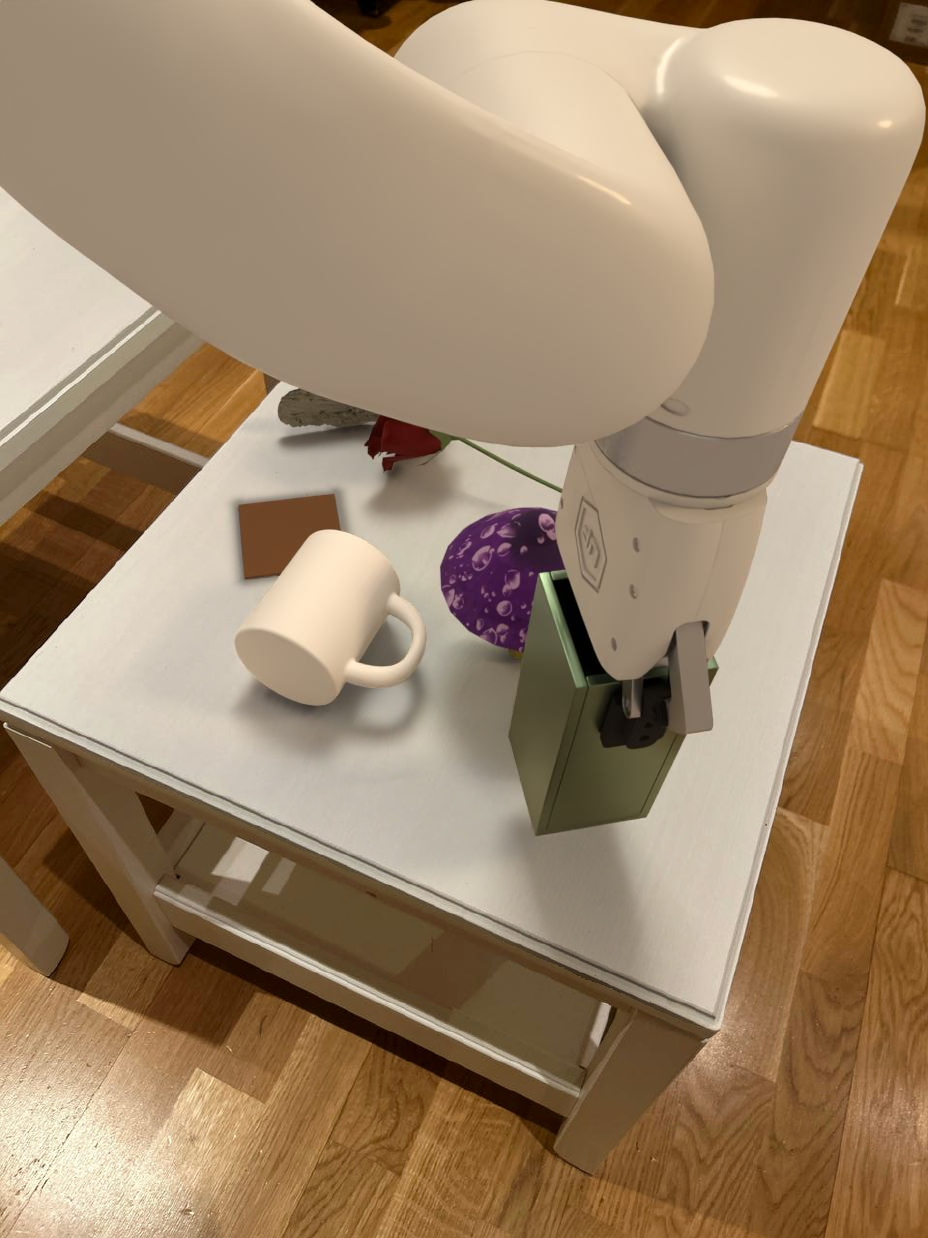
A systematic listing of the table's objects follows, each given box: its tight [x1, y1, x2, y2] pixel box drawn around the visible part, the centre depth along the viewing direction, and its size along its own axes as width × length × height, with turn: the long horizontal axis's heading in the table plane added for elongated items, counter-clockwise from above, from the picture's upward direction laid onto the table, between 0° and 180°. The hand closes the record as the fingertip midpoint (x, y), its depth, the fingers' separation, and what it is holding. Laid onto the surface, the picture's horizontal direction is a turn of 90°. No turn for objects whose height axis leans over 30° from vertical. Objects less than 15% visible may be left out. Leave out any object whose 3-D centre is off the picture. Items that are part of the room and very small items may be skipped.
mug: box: [234, 530, 427, 707], centre depth 66 cm, size 12×10×8 cm
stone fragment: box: [277, 388, 380, 428], centre depth 82 cm, size 10×1×5 cm, turn 102°
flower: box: [363, 415, 563, 494], centre depth 77 cm, size 11×10×30 cm
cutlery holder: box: [507, 570, 720, 837], centre depth 52 cm, size 7×7×16 cm
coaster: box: [237, 493, 342, 580], centre depth 76 cm, size 8×8×1 cm
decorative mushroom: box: [439, 506, 566, 660], centre depth 64 cm, size 12×12×15 cm
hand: (607, 674), depth 49 cm, fingers closed on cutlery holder, 7 cm apart
